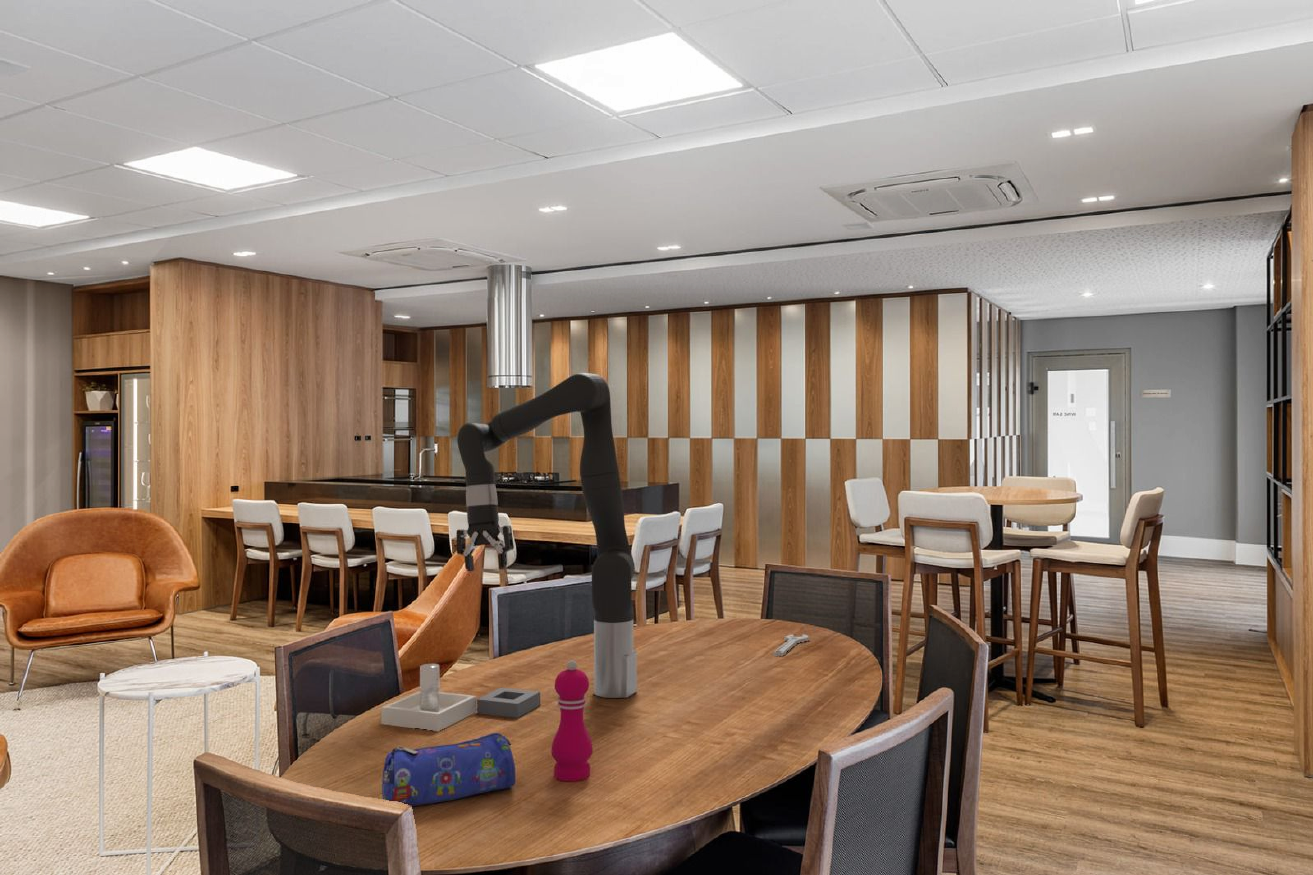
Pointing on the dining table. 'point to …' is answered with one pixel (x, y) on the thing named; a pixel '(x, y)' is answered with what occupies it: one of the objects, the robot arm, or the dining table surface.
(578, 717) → the pepper mill
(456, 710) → the tray
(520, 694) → the socket block
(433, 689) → the pin
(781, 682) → the dining table surface
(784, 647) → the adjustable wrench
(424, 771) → the pencil case
